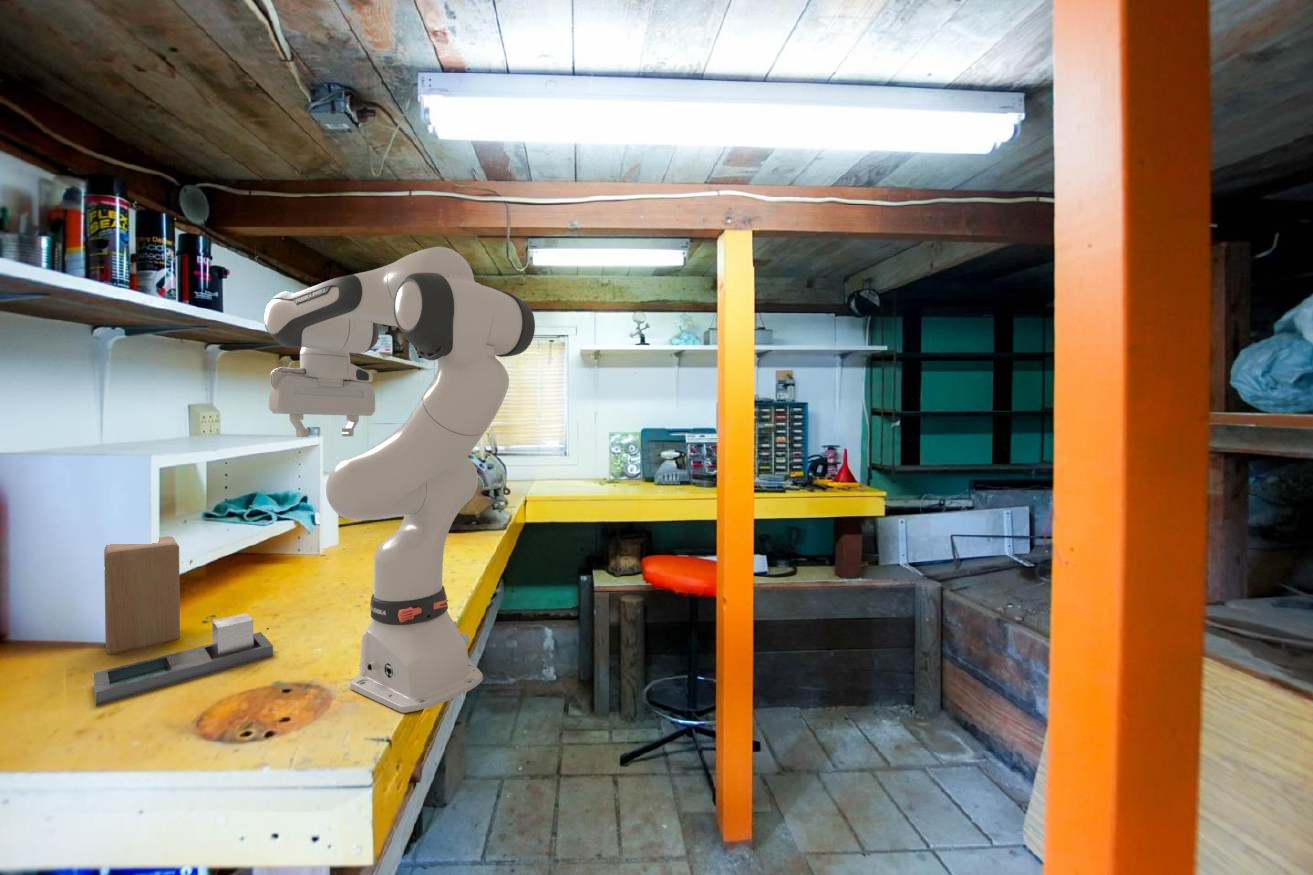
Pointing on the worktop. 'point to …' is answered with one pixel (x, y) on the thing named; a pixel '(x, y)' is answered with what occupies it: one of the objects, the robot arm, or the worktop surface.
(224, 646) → the white upright block
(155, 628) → the wooden block
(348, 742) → the worktop surface
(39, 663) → the worktop surface
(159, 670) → the gray slotted tray
